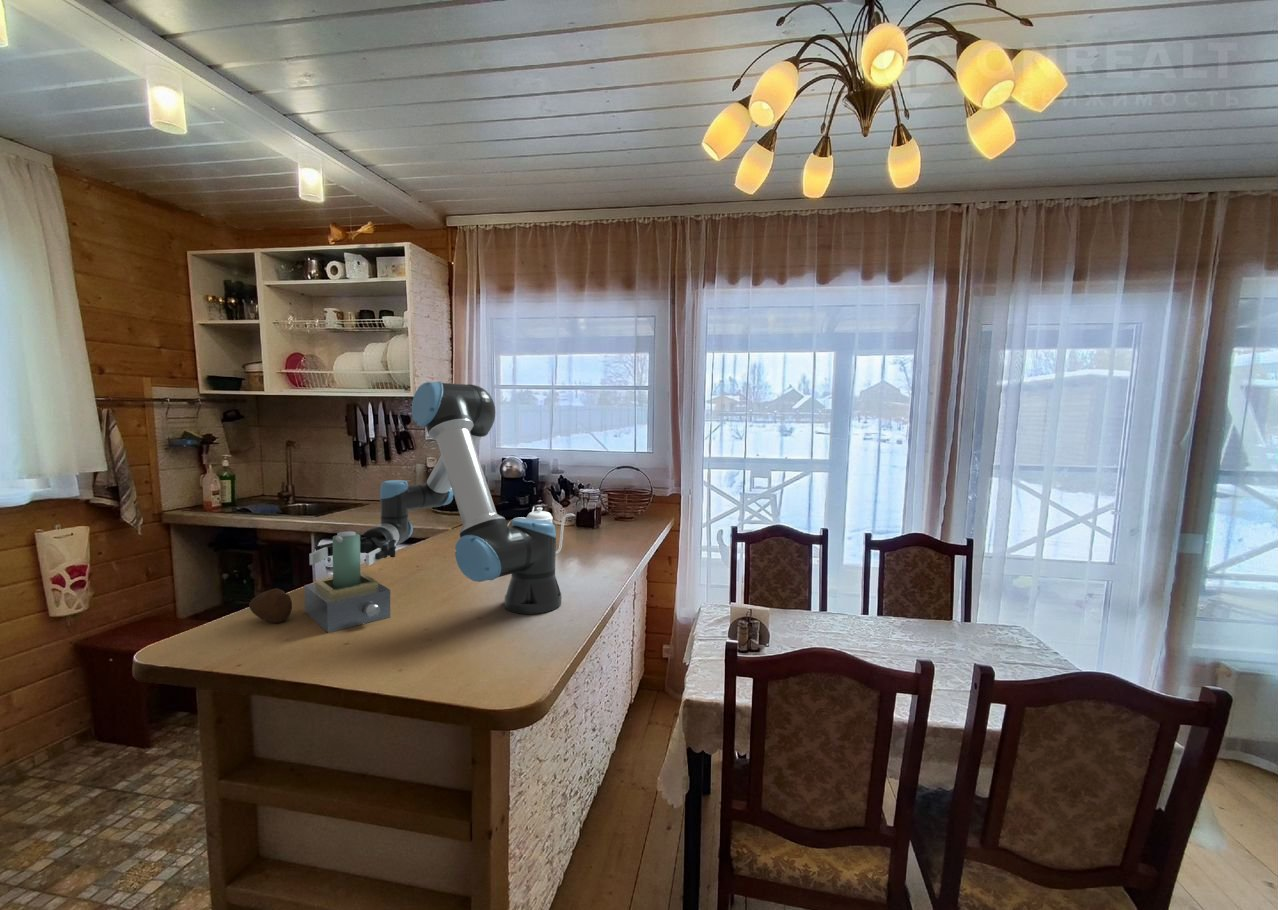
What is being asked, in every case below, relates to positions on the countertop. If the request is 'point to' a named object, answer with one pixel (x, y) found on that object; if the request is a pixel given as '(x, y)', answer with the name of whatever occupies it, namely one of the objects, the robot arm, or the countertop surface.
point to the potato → (272, 605)
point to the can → (346, 559)
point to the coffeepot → (546, 517)
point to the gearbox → (346, 603)
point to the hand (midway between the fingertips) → (339, 559)
